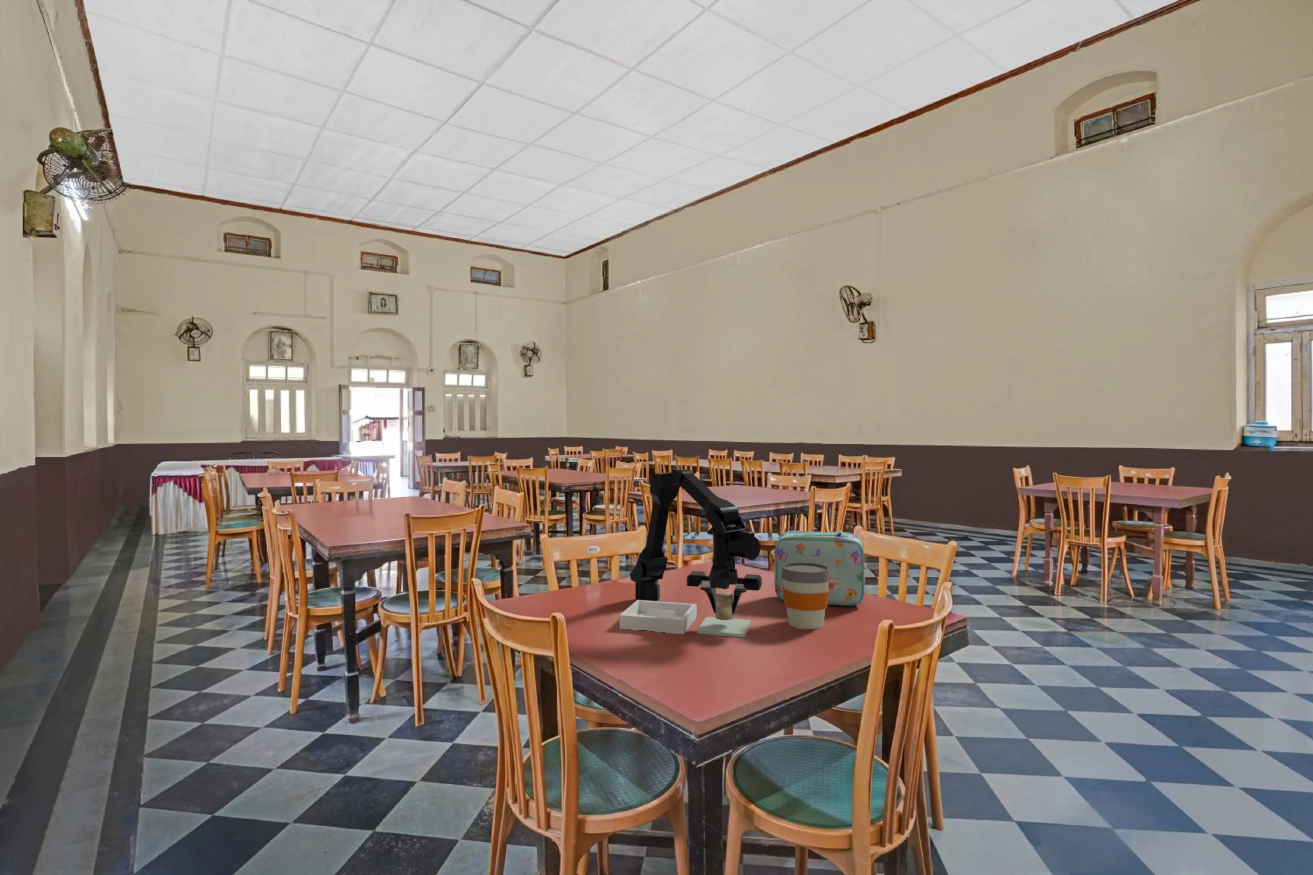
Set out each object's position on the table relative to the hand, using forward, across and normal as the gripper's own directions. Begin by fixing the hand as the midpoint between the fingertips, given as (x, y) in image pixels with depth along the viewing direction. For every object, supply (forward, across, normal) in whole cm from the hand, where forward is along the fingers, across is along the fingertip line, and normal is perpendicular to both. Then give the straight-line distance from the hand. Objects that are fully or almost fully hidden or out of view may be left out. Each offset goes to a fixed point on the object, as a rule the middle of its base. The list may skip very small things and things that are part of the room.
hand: (724, 613), depth 171 cm
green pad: (+4, 0, 0) cm, 4 cm away
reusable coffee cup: (+4, +20, +9) cm, 22 cm away
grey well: (+4, -17, 0) cm, 18 cm away
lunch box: (+4, +23, +32) cm, 40 cm away
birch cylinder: (+1, 0, 0) cm, 1 cm away
